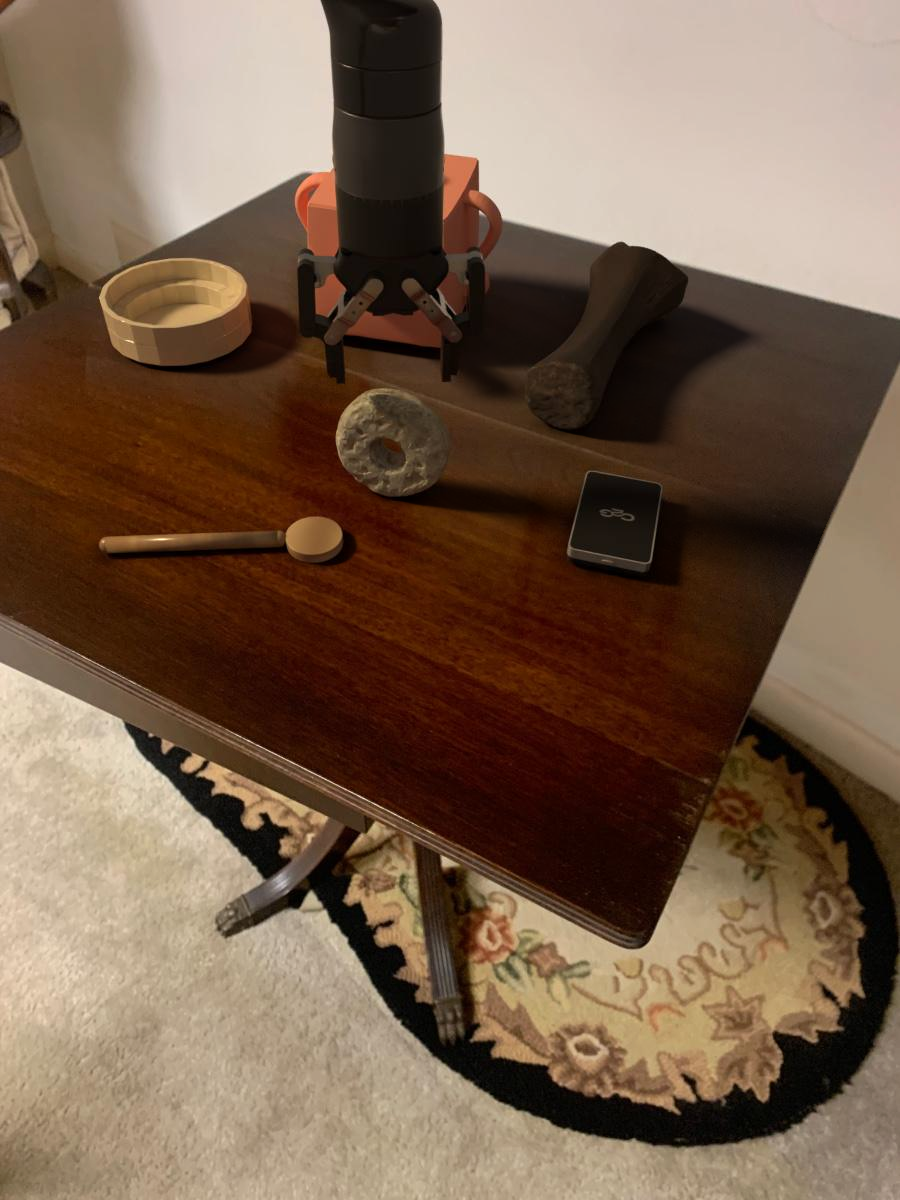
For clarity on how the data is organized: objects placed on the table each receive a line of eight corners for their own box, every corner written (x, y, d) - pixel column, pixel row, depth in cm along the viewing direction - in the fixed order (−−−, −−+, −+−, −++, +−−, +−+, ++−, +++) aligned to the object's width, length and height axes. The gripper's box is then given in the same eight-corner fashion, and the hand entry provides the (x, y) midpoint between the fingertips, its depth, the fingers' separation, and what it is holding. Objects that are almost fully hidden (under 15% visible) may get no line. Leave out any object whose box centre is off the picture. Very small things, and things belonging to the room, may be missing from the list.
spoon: (96, 571, 72) (91, 559, 71) (106, 532, 76) (102, 519, 75) (343, 562, 74) (342, 549, 73) (343, 523, 77) (342, 511, 76)
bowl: (100, 372, 92) (87, 328, 89) (123, 300, 103) (113, 258, 99) (247, 369, 94) (241, 326, 90) (256, 298, 104) (250, 257, 100)
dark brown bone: (619, 316, 108) (535, 464, 93) (588, 237, 102) (493, 381, 87) (705, 297, 101) (631, 453, 86) (678, 211, 95) (592, 362, 80)
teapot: (464, 406, 90) (474, 234, 77) (255, 373, 93) (230, 201, 80) (507, 291, 107) (521, 134, 94) (329, 266, 110) (318, 110, 97)
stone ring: (334, 488, 81) (326, 394, 73) (348, 465, 83) (342, 372, 76) (440, 512, 79) (443, 418, 71) (451, 488, 81) (456, 395, 74)
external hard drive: (658, 500, 81) (663, 483, 79) (645, 583, 73) (650, 566, 72) (583, 486, 82) (586, 469, 80) (563, 566, 75) (566, 549, 73)
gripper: (281, 196, 57) (304, 407, 69) (499, 194, 59) (485, 402, 70) (286, 152, 63) (307, 355, 74) (486, 151, 64) (475, 351, 75)
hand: (393, 378), depth 72 cm, fingers open, 8 cm apart
